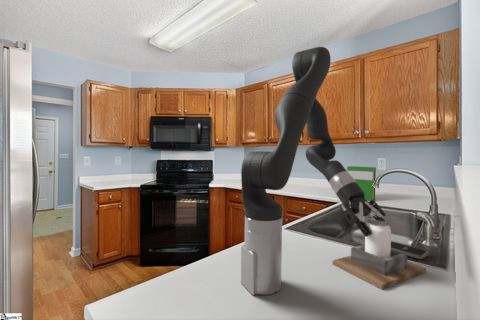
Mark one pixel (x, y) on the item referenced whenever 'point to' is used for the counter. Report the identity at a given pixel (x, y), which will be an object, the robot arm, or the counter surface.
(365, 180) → the green cereal box
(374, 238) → the can
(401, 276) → the socket board
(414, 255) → the external hard drive
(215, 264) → the counter surface
